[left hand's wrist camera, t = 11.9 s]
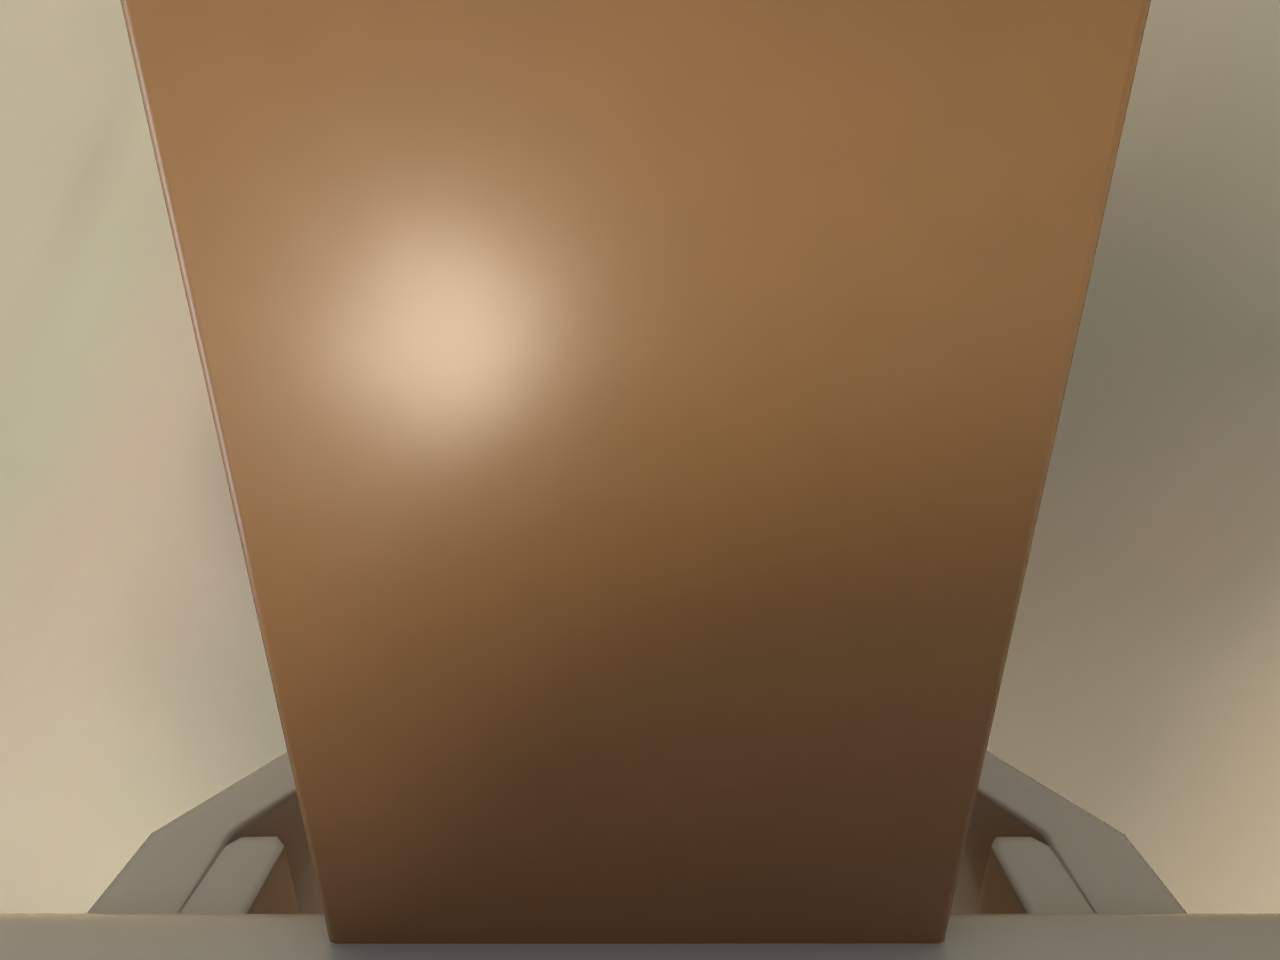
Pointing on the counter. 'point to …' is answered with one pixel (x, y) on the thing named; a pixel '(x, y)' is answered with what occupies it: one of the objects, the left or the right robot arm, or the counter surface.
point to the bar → (636, 432)
